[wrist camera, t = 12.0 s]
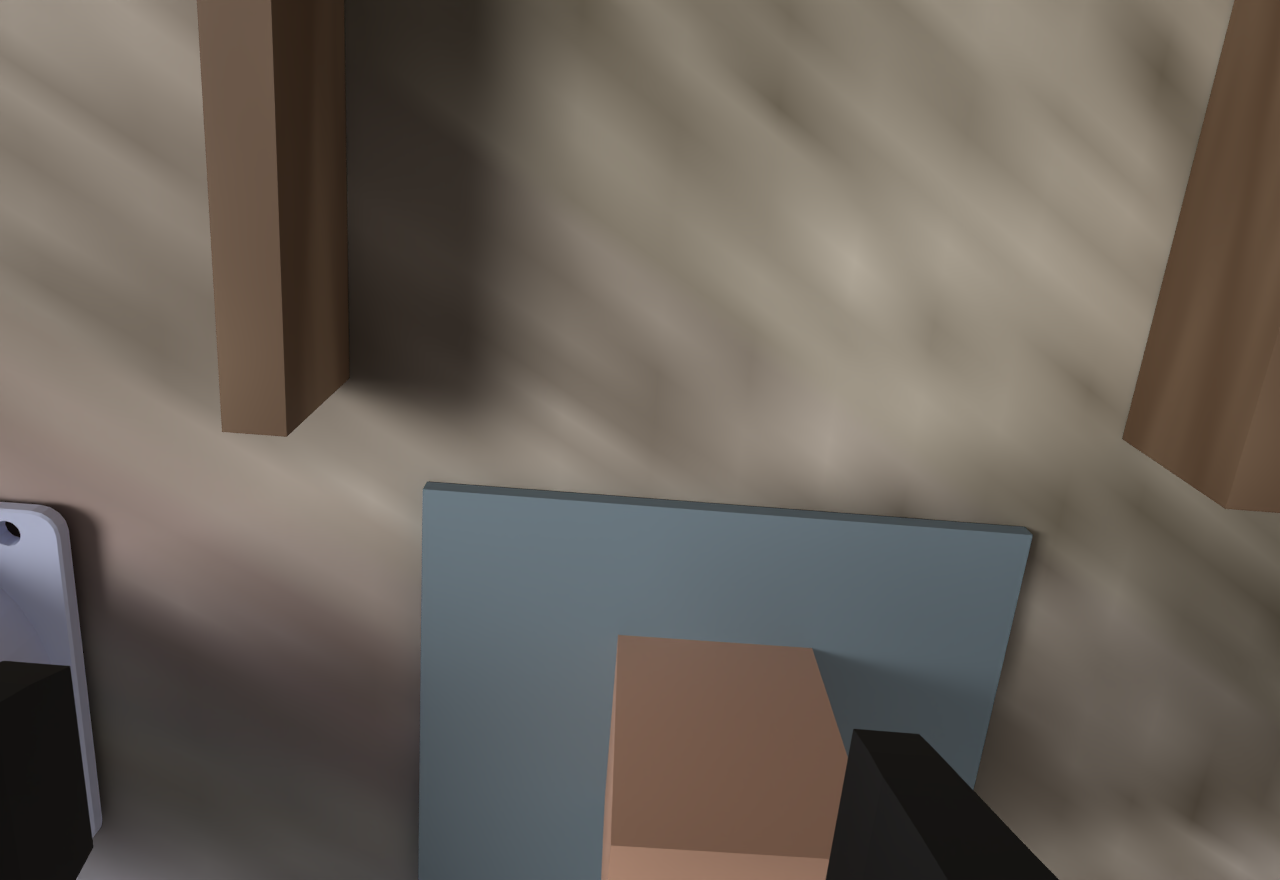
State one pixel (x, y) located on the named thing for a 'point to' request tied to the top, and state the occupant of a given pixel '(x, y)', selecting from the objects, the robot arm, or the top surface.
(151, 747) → the top surface
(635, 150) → the top surface
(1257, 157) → the walnut crate
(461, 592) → the slate mat
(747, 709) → the terracotta block
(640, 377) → the top surface
